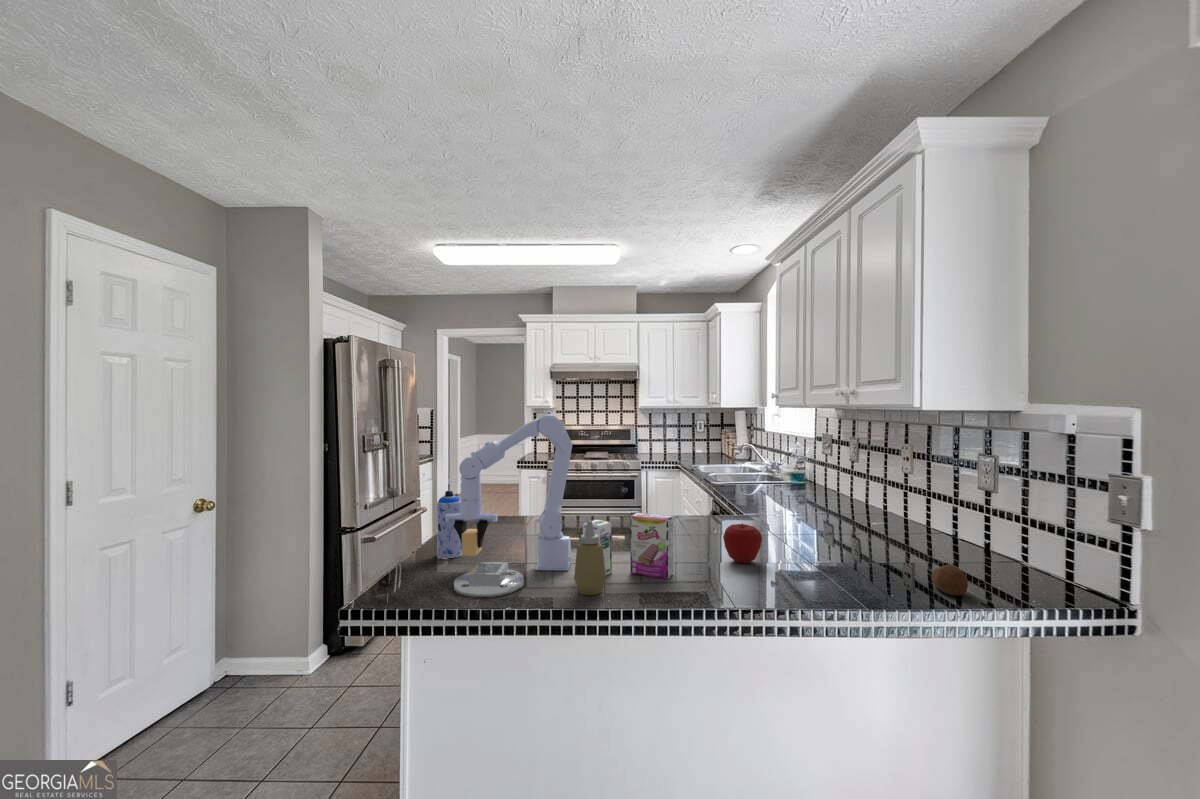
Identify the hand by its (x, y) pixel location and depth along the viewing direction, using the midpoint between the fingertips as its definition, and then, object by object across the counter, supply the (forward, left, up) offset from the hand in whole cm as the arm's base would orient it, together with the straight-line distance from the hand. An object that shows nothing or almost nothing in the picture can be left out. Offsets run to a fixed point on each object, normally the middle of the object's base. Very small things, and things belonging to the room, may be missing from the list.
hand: (472, 546), depth 163 cm
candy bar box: (-51, +2, -7) cm, 51 cm away
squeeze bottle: (-35, +16, -7) cm, 39 cm away
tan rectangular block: (0, 0, -2) cm, 2 cm away
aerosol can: (+11, -14, -7) cm, 19 cm away
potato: (-125, +13, -7) cm, 126 cm away
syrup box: (-36, +2, -7) cm, 37 cm away
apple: (-78, -10, -7) cm, 79 cm away
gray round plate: (-8, +12, -7) cm, 16 cm away
